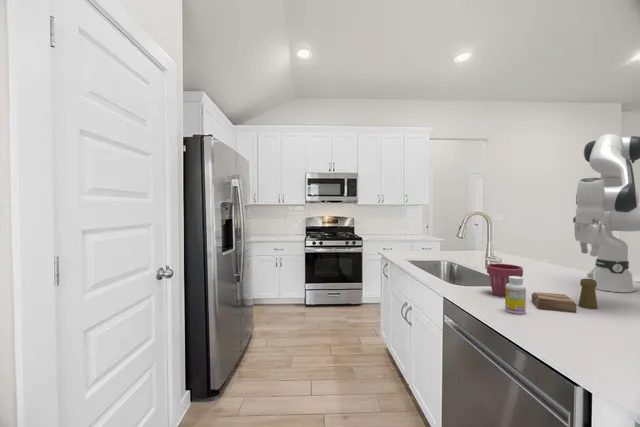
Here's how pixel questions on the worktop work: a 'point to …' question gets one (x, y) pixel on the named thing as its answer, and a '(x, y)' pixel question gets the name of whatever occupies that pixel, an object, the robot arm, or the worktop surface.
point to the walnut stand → (553, 302)
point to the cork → (588, 294)
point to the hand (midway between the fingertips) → (589, 254)
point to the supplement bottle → (515, 295)
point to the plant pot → (502, 276)
